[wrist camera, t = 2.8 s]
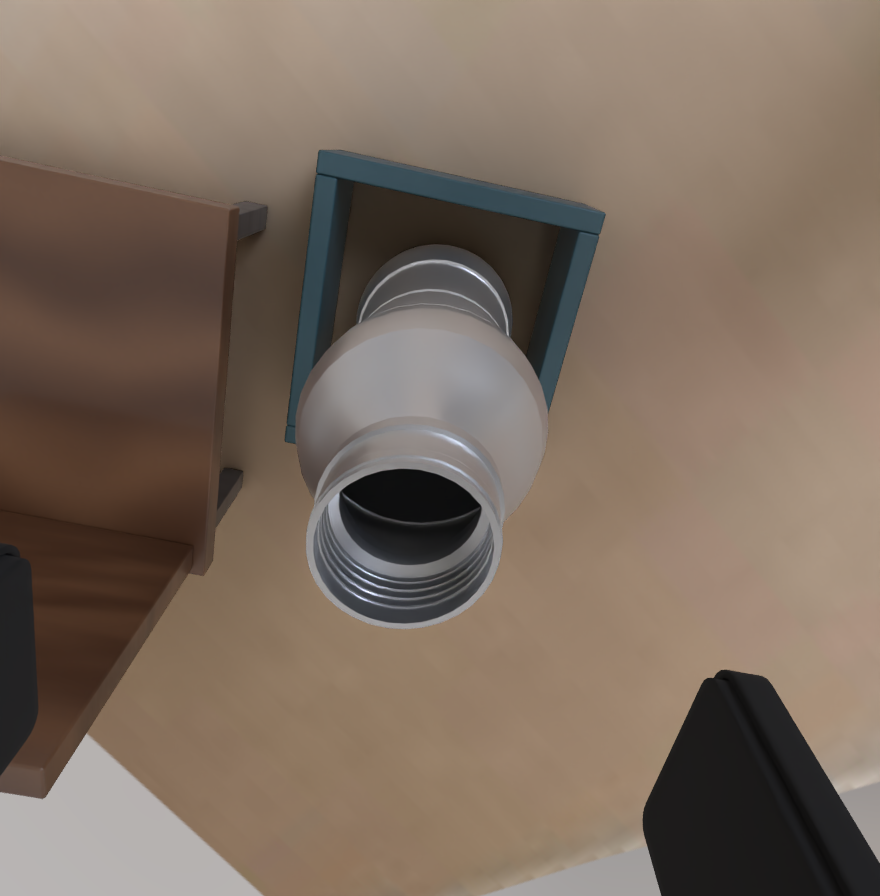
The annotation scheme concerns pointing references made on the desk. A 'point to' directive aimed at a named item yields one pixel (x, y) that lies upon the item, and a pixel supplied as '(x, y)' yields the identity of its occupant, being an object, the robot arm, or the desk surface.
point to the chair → (108, 423)
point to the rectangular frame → (348, 167)
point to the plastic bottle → (418, 441)
